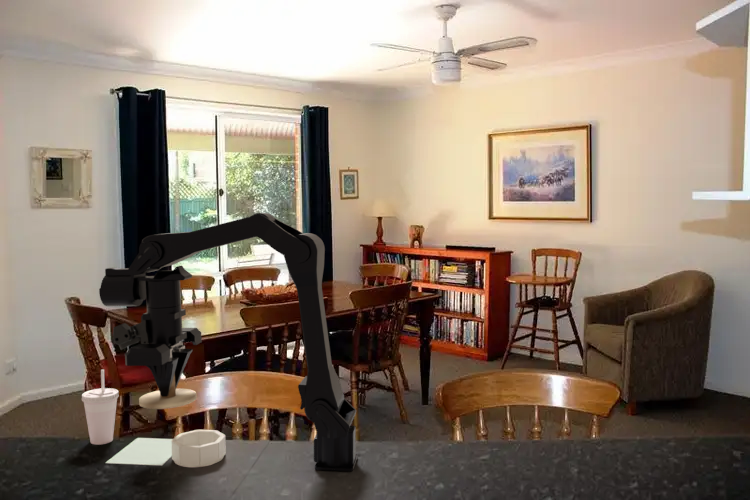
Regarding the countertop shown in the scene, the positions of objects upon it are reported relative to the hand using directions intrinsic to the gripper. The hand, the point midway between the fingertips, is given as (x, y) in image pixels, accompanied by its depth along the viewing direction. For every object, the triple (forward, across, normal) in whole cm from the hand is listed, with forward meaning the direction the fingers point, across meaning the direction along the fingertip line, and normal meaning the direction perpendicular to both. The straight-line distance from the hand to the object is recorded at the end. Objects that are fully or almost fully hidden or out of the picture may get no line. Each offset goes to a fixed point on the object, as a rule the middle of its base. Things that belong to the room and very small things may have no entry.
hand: (168, 393), depth 115 cm
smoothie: (+11, -5, -16) cm, 20 cm away
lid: (+1, 0, 0) cm, 1 cm away
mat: (+11, -1, -4) cm, 12 cm away
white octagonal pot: (+11, +1, +6) cm, 13 cm away
